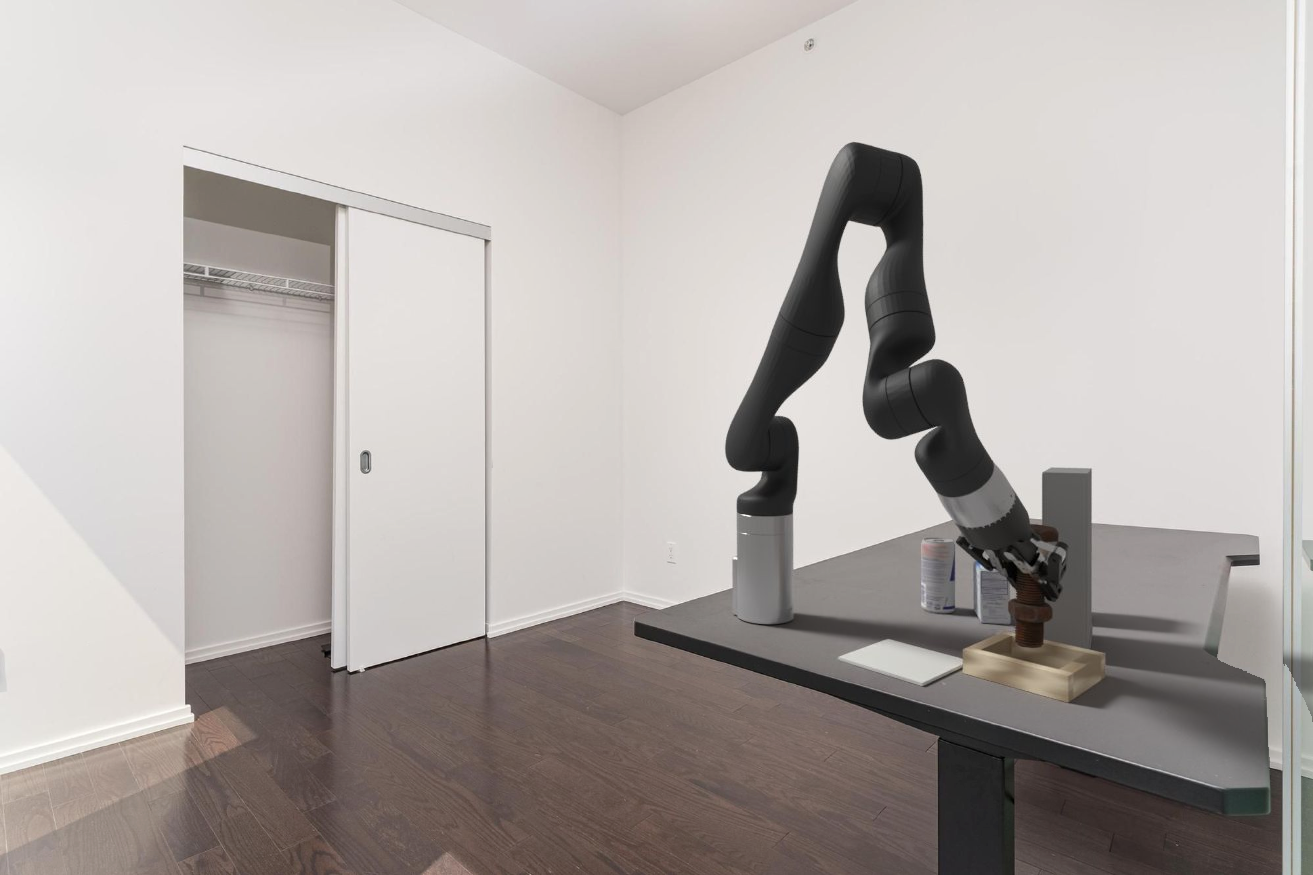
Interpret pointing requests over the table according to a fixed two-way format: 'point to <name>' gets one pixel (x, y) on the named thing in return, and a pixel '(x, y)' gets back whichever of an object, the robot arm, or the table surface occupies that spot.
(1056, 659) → the wooden frame
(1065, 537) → the cassette tape recorder
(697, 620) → the table surface
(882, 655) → the pad
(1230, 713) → the table surface
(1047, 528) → the bolt
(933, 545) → the energy drink
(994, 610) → the medicine box
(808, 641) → the table surface
